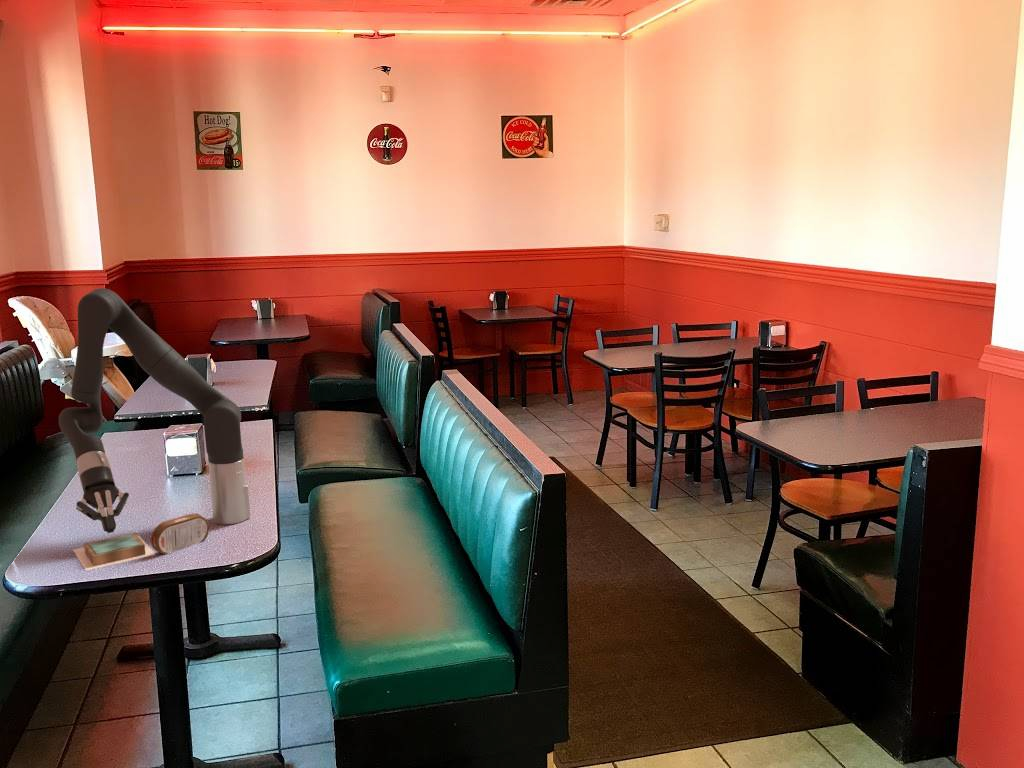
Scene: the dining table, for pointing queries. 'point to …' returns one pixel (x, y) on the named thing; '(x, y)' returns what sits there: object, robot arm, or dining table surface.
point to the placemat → (88, 565)
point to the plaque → (114, 549)
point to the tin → (179, 533)
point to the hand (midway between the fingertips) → (110, 531)
